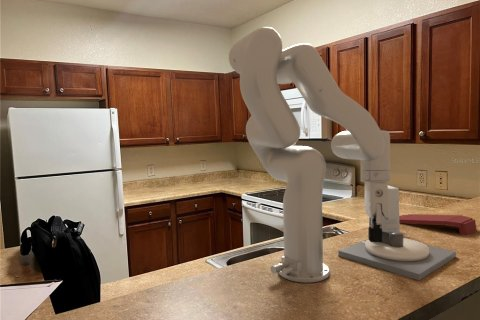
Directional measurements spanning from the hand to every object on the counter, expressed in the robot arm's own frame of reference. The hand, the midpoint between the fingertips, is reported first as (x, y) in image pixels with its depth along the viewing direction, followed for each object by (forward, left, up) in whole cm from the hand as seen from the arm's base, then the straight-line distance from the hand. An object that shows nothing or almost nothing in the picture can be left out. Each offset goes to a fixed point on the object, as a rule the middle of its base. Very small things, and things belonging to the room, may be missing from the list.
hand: (375, 241), depth 95 cm
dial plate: (+4, -4, -4) cm, 7 cm away
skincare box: (+24, +10, -5) cm, 26 cm away
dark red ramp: (+43, +2, -5) cm, 43 cm away
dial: (+4, -4, -2) cm, 6 cm away
